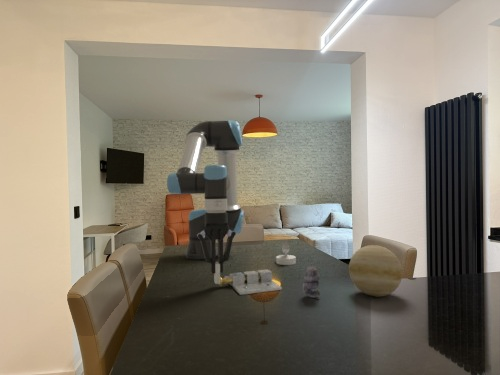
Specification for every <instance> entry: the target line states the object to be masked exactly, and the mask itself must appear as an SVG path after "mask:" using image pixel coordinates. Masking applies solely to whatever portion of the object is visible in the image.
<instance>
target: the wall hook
mask: <svg viewBox="0 0 500 375" xmlns="http://www.w3.org/2000/svg"><path fill="white" fill-rule="evenodd" d="M281 247H282V248H281V249H282V253H283V254H278V255H277V256H275V263H276V265H281V266H282V265H283V266H291V265H295V264H296V262H297V259H296V258H297V257H296V256H295V255H291V254H288V253H289V252H290V244H289V243H288V242H283V243H282V245H281Z"/></svg>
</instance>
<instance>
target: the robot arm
mask: <svg viewBox="0 0 500 375" xmlns="http://www.w3.org/2000/svg"><path fill="white" fill-rule="evenodd" d="M184 139H185V140H184V145H185V146H184V149H183V151H182V156H181V159H180V161H179V165H178V167H177V170H176V172H174V173H170V174H168V175H167V178H166V187H167V191H168V193H169V194H174V195H176V194H177V195H190V194H192V195H194V194H195V195H196V194H204V208H199V209H192V210H191V211H190V212H188V244H187V247H186V250H185V258H186V259H188V260H205V262H206V263H208V264H210V272H211V274H213V282H214V283H215V284H216V285H219V284H220V277H221V273H223V272H224V263H225V262H227V261H229V258H230V254H231V250H232V245H233V239H234V238H235V236H236V235H240V234H241V233H242V229H243V221H244V213H245V210H243V209H242V208H241V205H240V204H239V203H238V175H237V173H238V171H237V168H238V167H237V154H238V152H239V151H240V147H242V146H243V139H242V132H241V126H240V123H239V122H238V121H236V120H211V121H209V120H206V121H201V122H199V123H197V124H196V125H195V126H193V127H192V128H191V129H190V130H189V131H188V132H187V133H186V136H185V138H184ZM206 147H207V148H208V147H212V148H214V152H215V153H216V154H217V164H210V165H209V164H208V165H205V166H204V170H203V172H198V171H199V166H200V163H201V159H202V155H203V151H204V150H205V149H206ZM226 235H227V240H226V244H225V248H224V238H225V237H226ZM216 241H217V242H216ZM216 243H217V247H216ZM216 257H217V258H216ZM216 259H217V260H218V261H216Z"/></svg>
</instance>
